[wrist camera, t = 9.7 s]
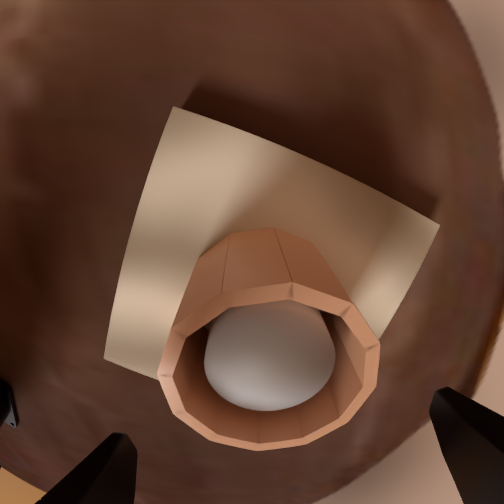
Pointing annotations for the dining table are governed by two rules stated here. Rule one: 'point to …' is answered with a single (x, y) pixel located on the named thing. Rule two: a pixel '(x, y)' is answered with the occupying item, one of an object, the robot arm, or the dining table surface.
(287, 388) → the duct mount
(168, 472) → the dining table surface
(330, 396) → the collar sleeve
